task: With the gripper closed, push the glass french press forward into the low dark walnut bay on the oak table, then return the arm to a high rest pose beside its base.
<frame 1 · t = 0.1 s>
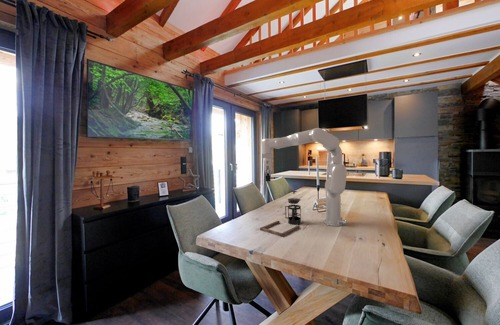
hand: (267, 180, 152), 31 cm above the table, tool pointing down, fingers open, 9 cm apart
walnut bay: (280, 228, 143), on the table
french press: (293, 223, 154), on the table
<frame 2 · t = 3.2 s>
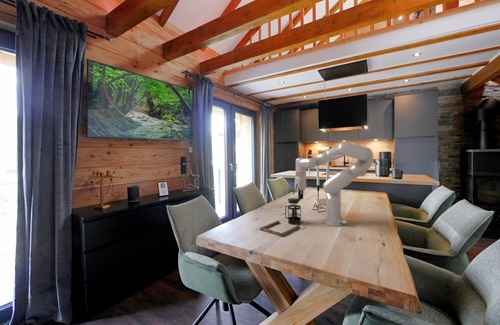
hand: (300, 198, 162), 15 cm above the table, tool pointing down, fingers closed
nothing on the table moved.
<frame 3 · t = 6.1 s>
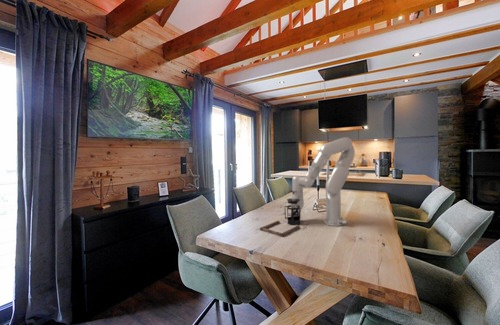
hand: (298, 217, 159), 2 cm above the table, tool pointing down, fingers closed
french press: (293, 223, 154), on the table, touching gripper
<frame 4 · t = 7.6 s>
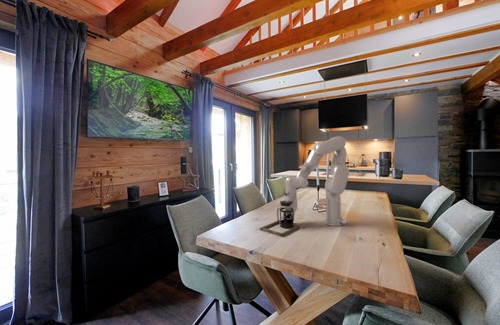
hand: (291, 220, 152), 2 cm above the table, tool pointing down, fingers closed
french press: (286, 226, 148), on the table, touching gripper
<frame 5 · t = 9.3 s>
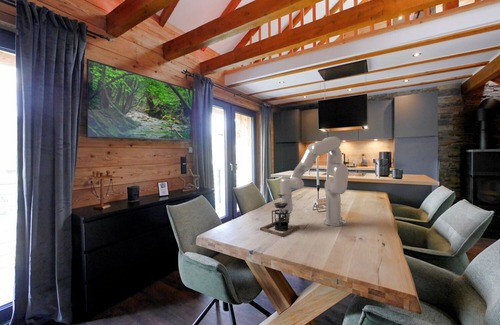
hand: (286, 222, 148), 2 cm above the table, tool pointing down, fingers closed
french press: (280, 229, 143), on the table, touching gripper
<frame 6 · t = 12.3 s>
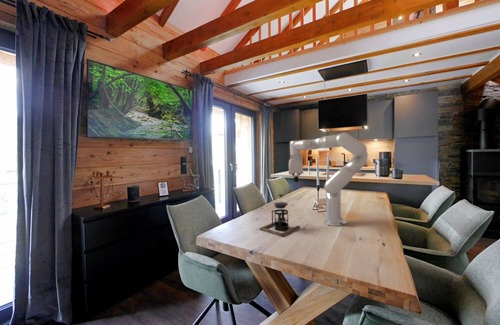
hand: (296, 181, 160), 28 cm above the table, tool pointing down, fingers closed
french press: (280, 229, 143), on the table
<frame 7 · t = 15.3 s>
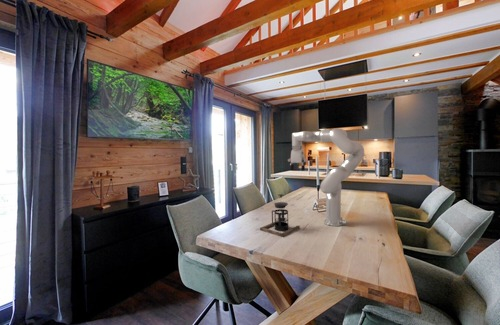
hand: (297, 170, 168), 36 cm above the table, tool pointing down, fingers open, 9 cm apart
nothing on the table moved.
at the end: french press 0.2 cm off-centre on the walnut bay, point 0.0 cm above the walnut bay's base; french press tilted 0°; french press touching table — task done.
